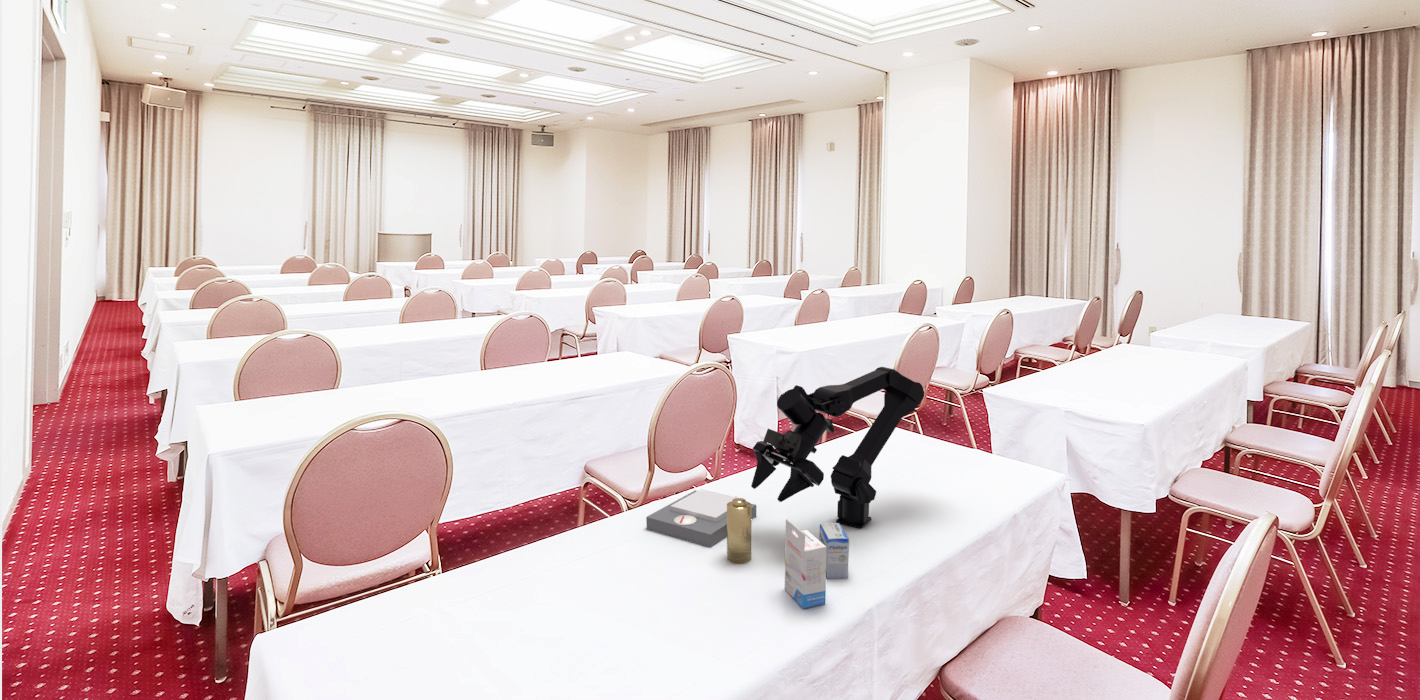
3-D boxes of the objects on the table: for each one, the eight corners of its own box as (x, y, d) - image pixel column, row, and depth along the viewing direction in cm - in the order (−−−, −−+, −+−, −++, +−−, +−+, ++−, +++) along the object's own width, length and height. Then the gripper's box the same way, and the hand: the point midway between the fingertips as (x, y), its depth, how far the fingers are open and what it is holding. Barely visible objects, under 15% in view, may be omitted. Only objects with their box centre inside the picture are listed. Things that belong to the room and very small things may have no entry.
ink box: (827, 604, 140) (828, 531, 138) (803, 609, 139) (804, 535, 136) (806, 584, 148) (807, 514, 146) (783, 588, 147) (784, 517, 144)
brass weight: (755, 556, 160) (756, 499, 158) (743, 565, 156) (743, 507, 154) (735, 550, 163) (735, 494, 161) (722, 559, 159) (722, 502, 156)
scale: (756, 516, 181) (756, 500, 180) (710, 547, 165) (710, 529, 164) (695, 501, 191) (695, 485, 190) (646, 529, 175) (646, 512, 174)
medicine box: (818, 561, 158) (818, 522, 156) (838, 560, 158) (839, 522, 157) (826, 579, 150) (827, 539, 148) (848, 578, 150) (849, 538, 149)
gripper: (759, 406, 168) (719, 462, 165) (814, 425, 153) (771, 487, 149) (786, 434, 174) (748, 488, 170) (841, 455, 159) (801, 515, 155)
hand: (765, 494), depth 161 cm, fingers open, 9 cm apart
